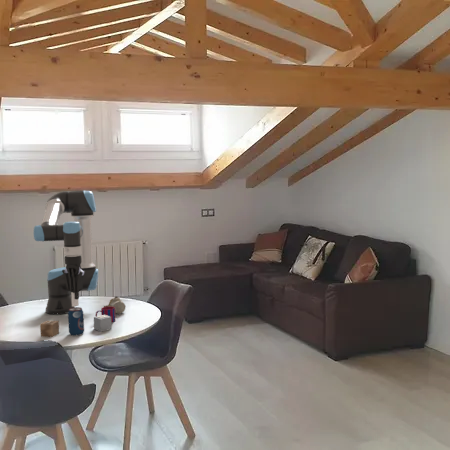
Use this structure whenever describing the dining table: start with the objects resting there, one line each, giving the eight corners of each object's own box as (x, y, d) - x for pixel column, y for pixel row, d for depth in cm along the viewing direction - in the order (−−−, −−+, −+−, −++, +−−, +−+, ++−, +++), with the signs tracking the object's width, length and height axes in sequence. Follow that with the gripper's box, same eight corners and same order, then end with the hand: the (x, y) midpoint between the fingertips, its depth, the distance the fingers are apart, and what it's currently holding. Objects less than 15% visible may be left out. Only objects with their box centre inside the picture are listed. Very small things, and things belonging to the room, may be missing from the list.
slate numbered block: (94, 329, 272) (93, 316, 272) (105, 326, 276) (104, 314, 276) (100, 331, 268) (100, 318, 267) (111, 329, 272) (111, 316, 271)
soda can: (83, 335, 261) (81, 310, 260) (67, 336, 261) (66, 310, 260) (85, 331, 268) (84, 306, 267) (70, 332, 268) (69, 307, 266)
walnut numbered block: (40, 336, 262) (40, 323, 261) (47, 332, 268) (46, 319, 267) (52, 337, 260) (52, 323, 260) (59, 333, 266) (58, 320, 266)
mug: (117, 321, 284) (116, 308, 283) (97, 324, 279) (97, 311, 279) (112, 318, 290) (112, 305, 289) (93, 321, 285) (93, 308, 284)
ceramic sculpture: (110, 299, 295) (102, 295, 308) (110, 315, 295) (102, 311, 308) (129, 297, 300) (121, 293, 313) (130, 313, 300) (121, 309, 313)
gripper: (56, 255, 261) (59, 306, 263) (76, 257, 254) (79, 309, 256) (69, 253, 267) (71, 302, 270) (89, 255, 260) (91, 305, 263)
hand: (75, 305), depth 263 cm, fingers closed
